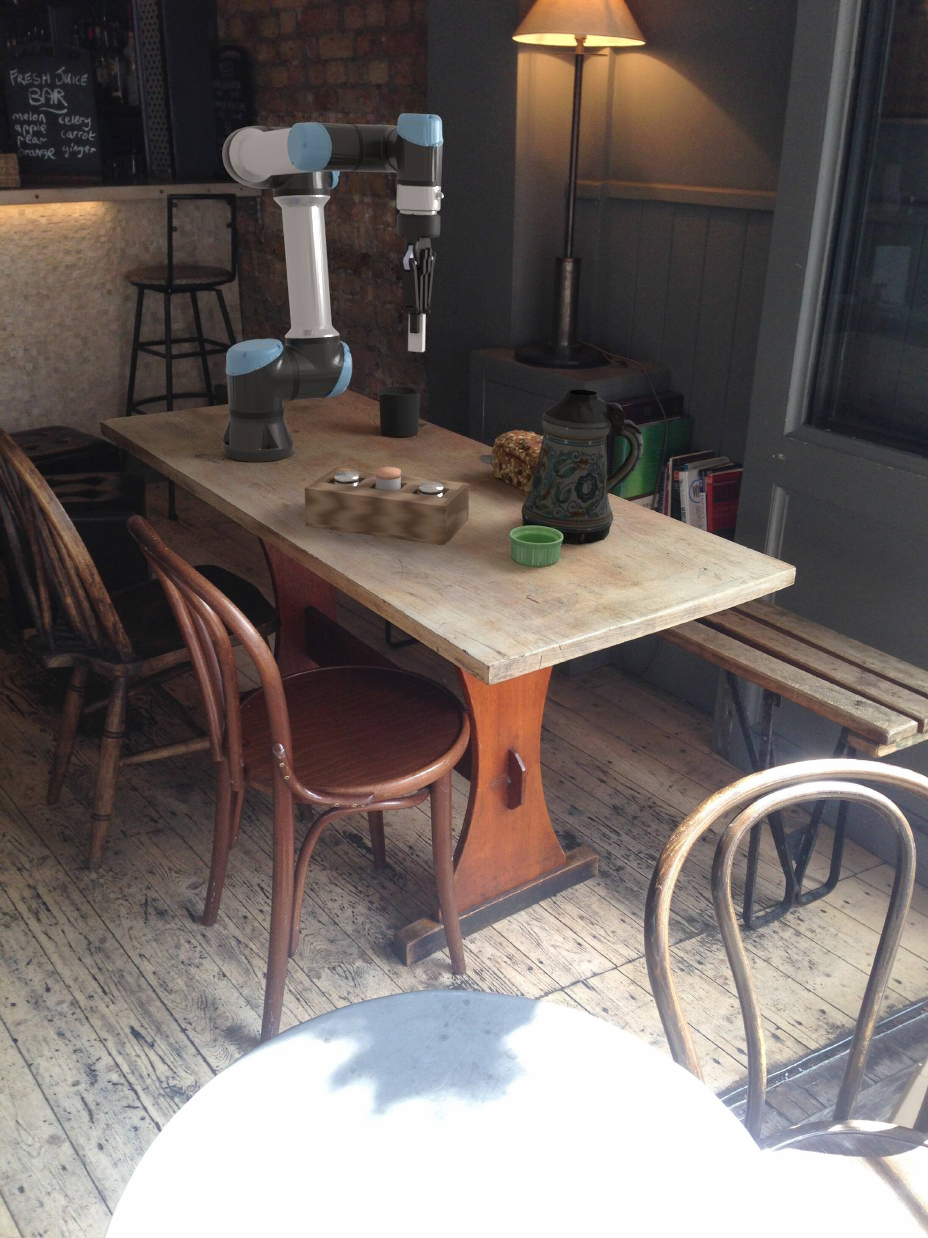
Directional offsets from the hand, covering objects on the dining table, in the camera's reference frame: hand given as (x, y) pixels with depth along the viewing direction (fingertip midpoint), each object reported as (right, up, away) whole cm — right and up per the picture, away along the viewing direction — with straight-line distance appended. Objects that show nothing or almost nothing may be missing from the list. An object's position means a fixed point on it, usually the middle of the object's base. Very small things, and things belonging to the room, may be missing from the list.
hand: (416, 350), depth 198 cm
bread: (+23, -22, +24) cm, 40 cm away
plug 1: (-13, -29, +1) cm, 31 cm away
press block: (-5, -31, -1) cm, 32 cm away
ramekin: (+20, -39, -14) cm, 46 cm away
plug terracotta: (-5, -28, -2) cm, 29 cm away
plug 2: (+3, -31, -3) cm, 31 cm away
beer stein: (+28, -33, 0) cm, 43 cm away
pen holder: (-7, -6, +57) cm, 58 cm away
